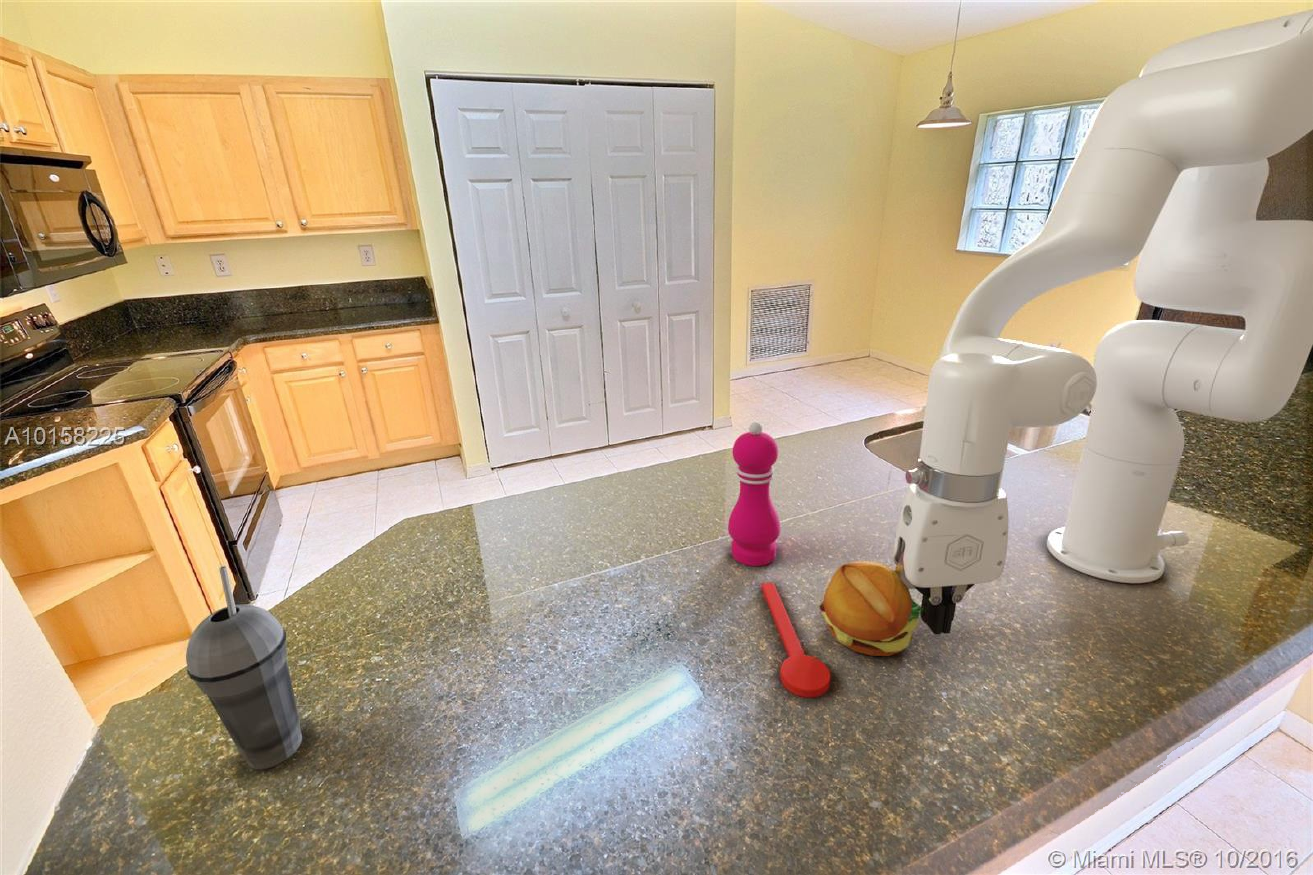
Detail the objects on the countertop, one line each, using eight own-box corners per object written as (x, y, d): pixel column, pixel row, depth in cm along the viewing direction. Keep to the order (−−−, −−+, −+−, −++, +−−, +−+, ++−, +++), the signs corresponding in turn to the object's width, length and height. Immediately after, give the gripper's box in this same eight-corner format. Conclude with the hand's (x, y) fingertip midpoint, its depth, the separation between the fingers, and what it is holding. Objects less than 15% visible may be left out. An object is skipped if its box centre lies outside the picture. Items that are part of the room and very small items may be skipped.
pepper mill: (779, 570, 78) (784, 432, 71) (725, 566, 80) (725, 430, 73) (779, 542, 85) (783, 413, 78) (730, 539, 86) (730, 412, 79)
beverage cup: (256, 721, 58) (191, 548, 51) (331, 713, 58) (276, 542, 51) (210, 787, 51) (127, 599, 44) (295, 778, 51) (226, 591, 44)
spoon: (786, 586, 75) (786, 579, 75) (837, 695, 58) (837, 688, 57) (748, 589, 75) (748, 582, 74) (787, 700, 57) (788, 692, 57)
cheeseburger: (927, 619, 67) (934, 558, 62) (900, 694, 60) (906, 632, 55) (842, 590, 73) (841, 532, 68) (808, 655, 66) (805, 596, 61)
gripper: (903, 500, 54) (884, 655, 61) (1055, 488, 55) (1021, 643, 62) (870, 468, 61) (856, 610, 68) (1005, 458, 62) (979, 600, 69)
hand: (935, 625), depth 65 cm, fingers closed
